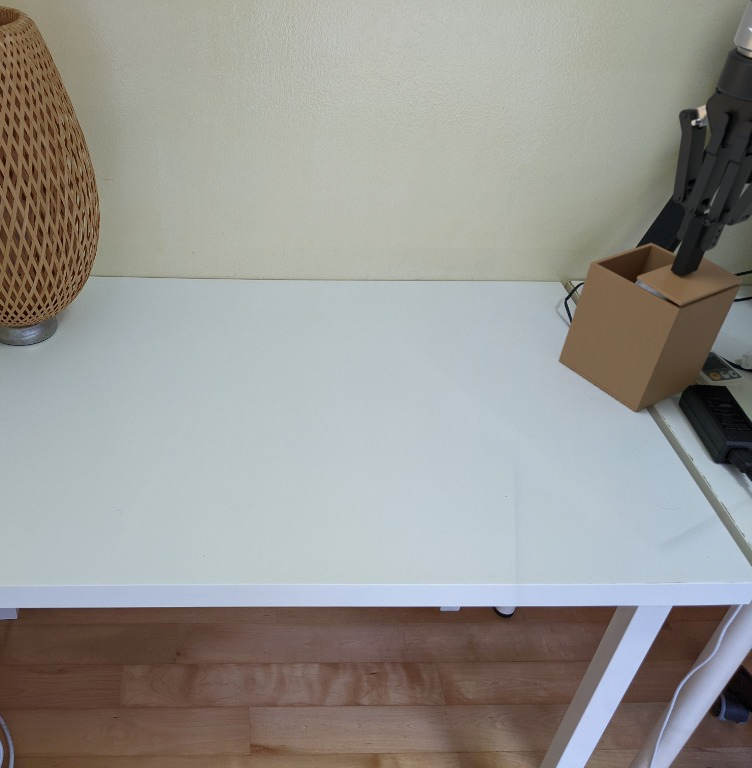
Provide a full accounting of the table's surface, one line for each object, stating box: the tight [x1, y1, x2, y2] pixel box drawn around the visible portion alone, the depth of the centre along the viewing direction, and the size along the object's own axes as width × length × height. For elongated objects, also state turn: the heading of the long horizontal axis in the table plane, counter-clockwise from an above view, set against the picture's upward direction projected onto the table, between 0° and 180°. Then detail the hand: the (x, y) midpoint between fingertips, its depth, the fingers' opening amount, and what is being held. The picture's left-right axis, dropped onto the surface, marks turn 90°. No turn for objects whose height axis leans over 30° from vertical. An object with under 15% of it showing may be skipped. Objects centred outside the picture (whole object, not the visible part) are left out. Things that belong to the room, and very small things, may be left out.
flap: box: [637, 256, 744, 306], centre depth 88 cm, size 6×11×1 cm, turn 119°
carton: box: [558, 242, 742, 413], centre depth 95 cm, size 12×11×14 cm
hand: (683, 270), depth 88 cm, fingers closed
